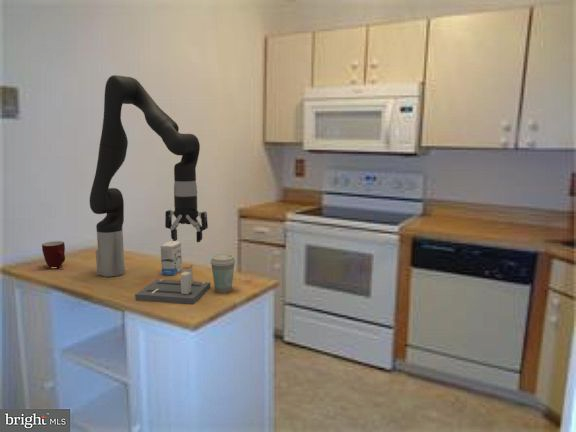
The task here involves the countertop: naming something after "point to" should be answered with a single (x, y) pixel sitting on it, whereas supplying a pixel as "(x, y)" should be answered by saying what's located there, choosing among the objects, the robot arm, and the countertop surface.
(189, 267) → the fader
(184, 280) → the fader
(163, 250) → the ink box
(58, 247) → the mug
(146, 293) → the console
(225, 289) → the coffee cup
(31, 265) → the countertop surface
